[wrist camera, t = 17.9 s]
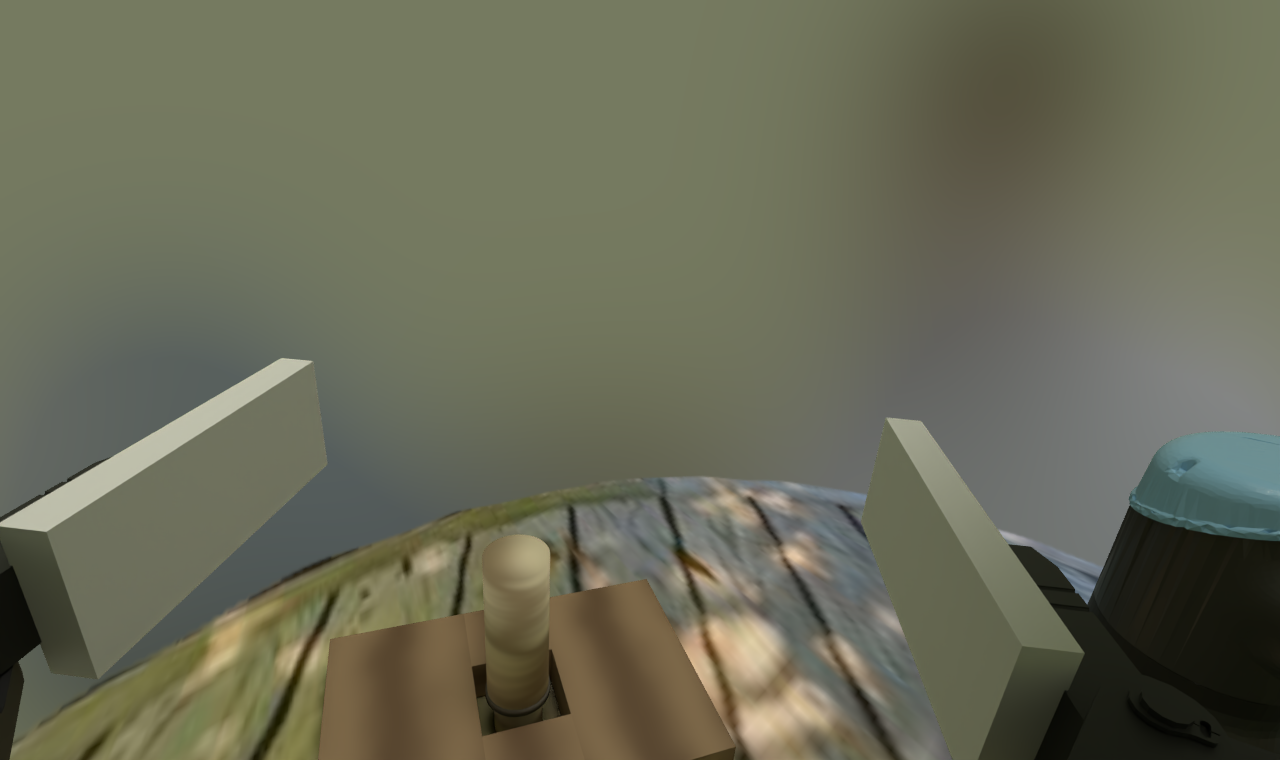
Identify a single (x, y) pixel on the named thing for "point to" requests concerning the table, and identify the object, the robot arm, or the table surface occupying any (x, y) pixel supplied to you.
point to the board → (578, 667)
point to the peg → (516, 629)
